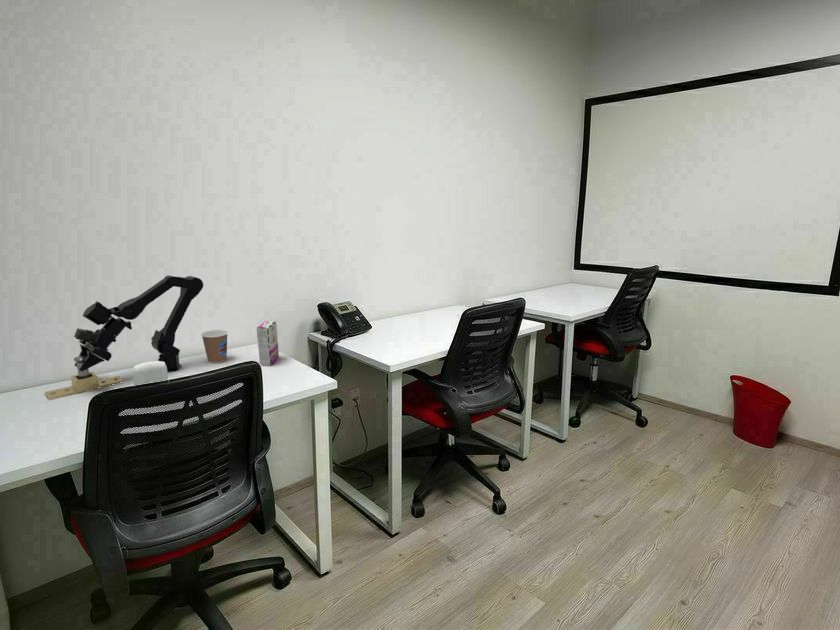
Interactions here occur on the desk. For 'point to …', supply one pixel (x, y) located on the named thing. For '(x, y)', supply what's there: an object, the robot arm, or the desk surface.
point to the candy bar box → (267, 342)
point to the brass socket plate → (83, 385)
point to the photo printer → (150, 372)
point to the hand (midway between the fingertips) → (78, 368)
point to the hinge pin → (79, 363)
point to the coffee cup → (215, 345)
